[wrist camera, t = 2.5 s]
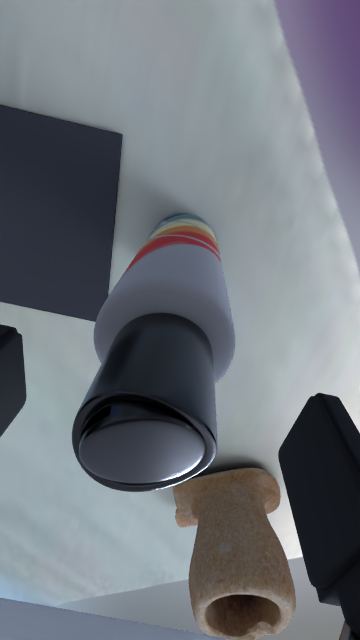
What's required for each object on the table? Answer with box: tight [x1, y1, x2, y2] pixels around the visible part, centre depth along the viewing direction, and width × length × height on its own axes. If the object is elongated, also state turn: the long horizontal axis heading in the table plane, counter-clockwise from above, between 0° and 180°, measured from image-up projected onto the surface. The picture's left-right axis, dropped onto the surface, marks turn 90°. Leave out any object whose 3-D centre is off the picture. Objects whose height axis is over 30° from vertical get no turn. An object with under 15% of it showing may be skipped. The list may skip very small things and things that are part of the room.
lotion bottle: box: [72, 213, 235, 492], centre depth 16 cm, size 6×6×20 cm
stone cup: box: [173, 468, 296, 640], centre depth 33 cm, size 15×12×15 cm
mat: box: [0, 105, 122, 322], centre depth 24 cm, size 16×14×1 cm
